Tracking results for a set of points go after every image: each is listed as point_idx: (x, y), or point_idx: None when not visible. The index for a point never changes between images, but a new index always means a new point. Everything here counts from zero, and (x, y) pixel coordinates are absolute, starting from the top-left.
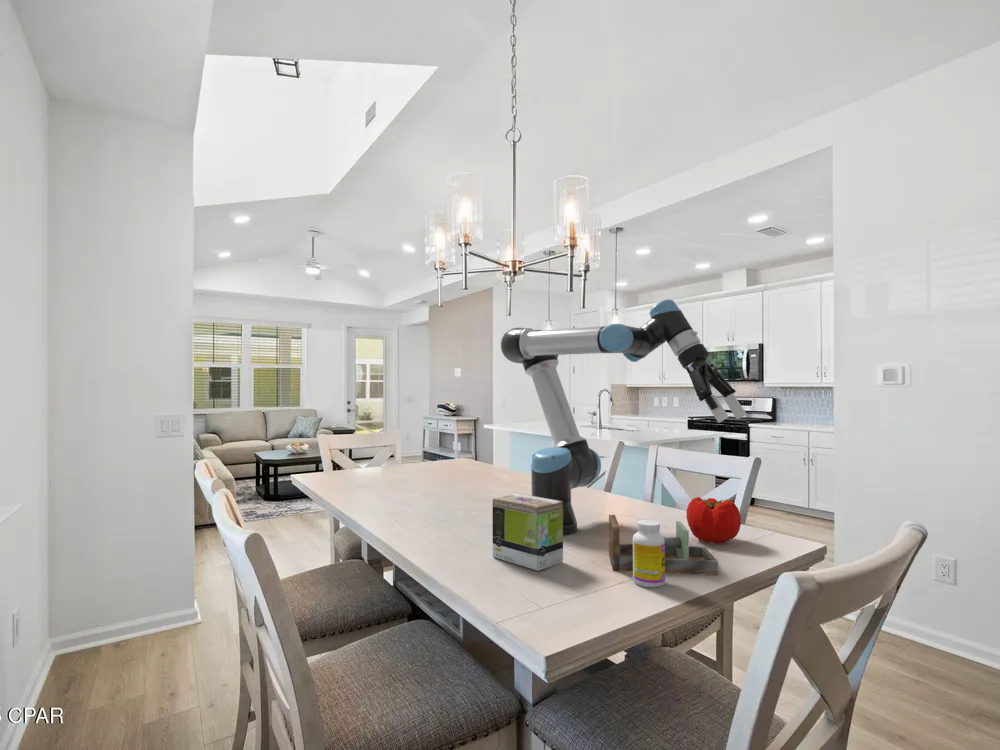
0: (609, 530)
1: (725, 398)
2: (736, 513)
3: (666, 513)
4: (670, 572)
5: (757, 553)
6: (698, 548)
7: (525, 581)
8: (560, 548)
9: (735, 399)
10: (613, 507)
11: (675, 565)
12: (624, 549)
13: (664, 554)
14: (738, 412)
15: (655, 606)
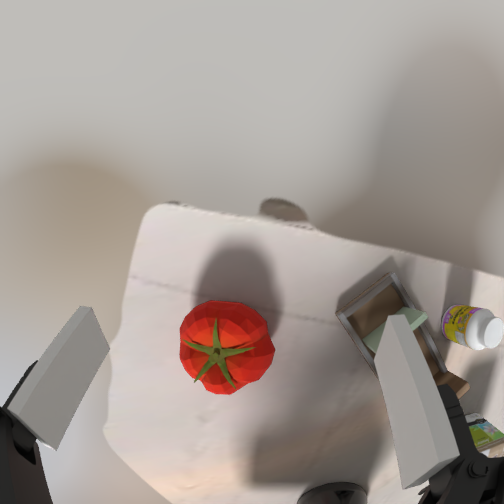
0: None
1: (51, 441)
2: (218, 306)
3: (132, 432)
4: None
5: (251, 263)
6: (348, 321)
7: (495, 399)
8: None
9: (41, 383)
10: (162, 492)
11: None
12: None
13: (470, 308)
14: (88, 348)
15: (491, 283)
